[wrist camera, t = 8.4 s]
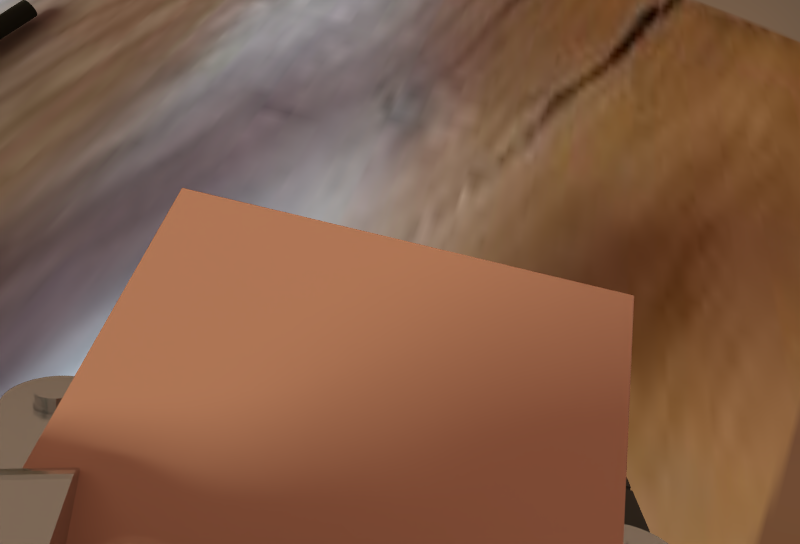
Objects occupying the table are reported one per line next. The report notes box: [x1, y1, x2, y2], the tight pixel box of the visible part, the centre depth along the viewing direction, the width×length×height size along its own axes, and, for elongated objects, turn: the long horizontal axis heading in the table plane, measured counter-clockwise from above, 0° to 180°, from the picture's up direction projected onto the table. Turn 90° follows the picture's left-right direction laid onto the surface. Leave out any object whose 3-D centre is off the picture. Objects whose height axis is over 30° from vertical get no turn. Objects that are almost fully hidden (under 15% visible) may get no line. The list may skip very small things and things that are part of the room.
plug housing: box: [23, 188, 634, 544], centre depth 10 cm, size 6×5×9 cm
